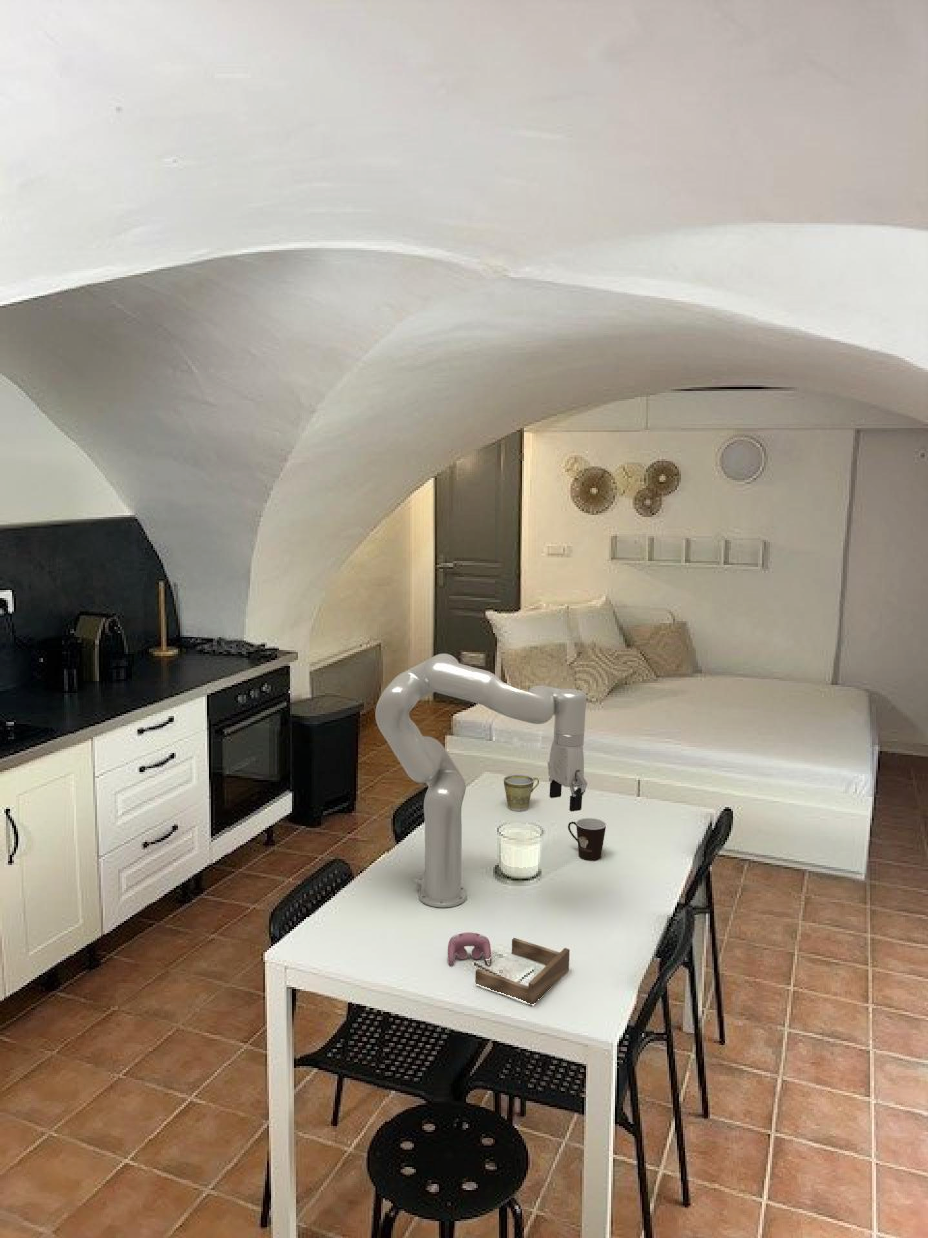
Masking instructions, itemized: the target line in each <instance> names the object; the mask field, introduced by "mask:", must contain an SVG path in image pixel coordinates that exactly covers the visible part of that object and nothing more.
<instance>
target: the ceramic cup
mask: <svg viewBox="0 0 928 1238" xmlns="http://www.w3.org/2000/svg"><path fill="white" fill-rule="evenodd" d="M536 780H537V783H536V784H535V786H534V783H535V781H536ZM539 784H540V779H539V778H537V777H532V776H531V775H526V774H520V773H519V774H510V775H509V774H508V775H506V776H505V777H504V778H503V786H504V791H505V796H506V797H505V798H506V803H507V809H508V810H509V811H511V812H517V813H518V812H519V813H520V812H526V811H528V808H529V805H530V801H531V795H532V793H533V792H534V790H536V788H537V787H538V786H539Z"/></svg>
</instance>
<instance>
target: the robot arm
mask: <svg viewBox="0 0 928 1238" xmlns="http://www.w3.org/2000/svg"><path fill="white" fill-rule="evenodd" d="M433 693H437V694H440V695H441V694H442V695H444V696H449V697H453V698H456V699H460V700H464V701H467V702H471V703H475V704H478V705H481V706H483V707H485V708H487V709H489V710H491V711H493V712H495V713H498V714H499V715H502V716H503V717H508V718H511V719H513V720H518V721H520V722H525V723H529V724H533V725H541V724H542V725H543V724H545V723H548V722H549V721H551V719H553V716H554V723H553V724H554V726H553V727H554V728H553V740H552V743H551V748H550V752H549V761H547V768H548V772H547V773H548V776H549V779H548V780H549V795H548V796H549V798H550V799H554V798H560V797H562V787H564V788H569V790H570V793H571V795H570V796H569V809H568V810H569V811H570V812H577V811H581V810H582V807H583V796H584V794H585V793H586V789H587V787H588V782H587V781H586V778H585V777H584V776H585V760H584V759H585V757H584V744H585V743H584V742H585V740H584V739H585V729H586V728H585V726H586V725H585V724H586V723H585V722H586V709H587V696H586V694H585V692H584V691H582V690H579V689H574V688H563V689H562V688H556V687H552V686H547V685H541V684H540V685H539V684H538V685H535V686H533V687H531V688H530V689H528V691H527V690H522V689H519V688H517V687H514V686H511V685H509V684H507V683H505V682H504V681H503V680H502V679H500V678H499V677H497V675H496V674H494V673H492V671H488V670H486V669H485V670H484V669H480V668H478V667H473V666H470V665H466V664H463V663H460V662H459V660H458V659H457V658H456V657H455V656H453V655H451V654H449V653H439V654H435V655H434V656H432V657H431V658H429V659H427V660H425V661H423V662H421V663H418V664H417V665H415V666H412V667H411V668H409V669H407V670H404V672H400V674H398V675H397V676H395V678H393V680H391V682H390V683H389V684H388V685H387V686H386V687H385V689H384V690H383V692H382V694H381V695H380V697H379V698H378V701H377V703H376V707H375V716H374V717H375V723H376V725H377V727H378V730H379V731H380V733H381V734H382V736H383V738H384V739H385V741H386V742H387V744H388V745H389V747H390V749H391V750H392V752H393V754H394V755H395V757H396V759H397V760H398V762H399V763H400V765H401V766H402V768H403V769H404V771H405V773H406V775H407V776H408V777H409V778H410V779H411V780H412V781H414V782H416V783H417V784H419V783H420V784H425V783H426V785H427V787H428V788H427V790H426V792H425V795H424V801H423V816H424V874H423V873H421V872H416V873H415V875H414V878H413V884H415V885H418V886H419V885H420V889H419V890H418V899H419V900H420V902H421V903H423V904H424V905H427V906H430V907H434V908H452V907H456V906H459V905H461V904H463V903H464V902H465V901H466V900H467V896H468V894H467V890H466V889H465V888H464V886H462V848H463V847H462V843H463V842H462V839H463V838H462V837H463V835H462V834H463V832H462V829H463V828H462V827H463V825H462V808H463V807H462V806H463V801H464V797H465V795H466V788H467V786H466V781H465V779H464V777H463V775H462V773H461V771H460V770H459V768H458V767H457V765H456V764H455V762H454V761H453V759H452V758H451V756H450V754H449V752H448V751H447V749H446V748H445V747H444V745H443V744H442V743H441V742H440V741H439V740H438V739H437V738H434V737H431V736H424V735H422V733H421V731H420V729H419V727H418V725H417V724H416V723H415V722H414V721H413V720H412V719H411V717H410V712H411V711H412V709H414V708H415V706H416V705H417V703H418V702H419V701H420V700H421V699H423V698H426V697H427V696H430V695H431V694H433ZM575 788H577V789H575Z"/></svg>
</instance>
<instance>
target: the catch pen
mask: <svg viewBox="0 0 928 1238" xmlns="http://www.w3.org/2000/svg"><path fill="white" fill-rule="evenodd" d="M511 954H512V955H515V956H518V957H521V958H524V959H526V960H530V961H533V962H536V963H539V964H541V965H545V966H544V968H542V969H541V970H540V971H539V972H538V973H537V974H536V975H535V976H534V977H533V978H532V979H531V980H530V981H528V985H525V984H522V983H520V982H517V981H515V980H511V979H508V978H506V977H502V976H501V975H497V974H494V973H491V972H489V971H487V970H483V969H480V968H477V969H476V970H475V975H474V976H475V983H476V984H479V985H481V986H484V987H487V988H490V989H491V990H494V991H497V992H501V993H504V994H506V995H510V996H512V997H516V998H518V999H521V1000H523V1001H526V1002H527V1003H530V1004H534V1003H536V1002H537V1001H538V999H540V998H541V997H542V996H543V995H544V994H545V993H546V992H547V991H548V990H549V989H550V988H551V987H552V986H553V985H554V984H555V985H556V984H557V983H558V982H559V981H560V980H561V979H562V978H561V977H564V975H566V974H567V973H568V971H569V970H570V949H569V948H567V947H564V948H563V949H562V950H561V951H560V952H559V951H557V950H554V949H550V948H548V947H544V946H541V945H538V944H535V943H533V942H529V941H526V940H523V939H519V938H517V937H513V938H512V939H511ZM555 985H554V986H555ZM554 986H553V987H554ZM553 987H552V988H553ZM552 988H551V989H552ZM551 989H550V990H551ZM550 990H549V991H550ZM549 991H548V992H549ZM548 992H547V993H548ZM547 993H546V994H547ZM546 994H545V995H546ZM545 995H544V996H545ZM544 996H543V997H544ZM543 997H542V998H543ZM542 998H541V999H542ZM541 999H540V1000H541ZM538 1002H539V1001H538ZM538 1002H537V1003H538ZM537 1003H536V1004H537Z"/></svg>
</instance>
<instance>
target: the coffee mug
mask: <svg viewBox="0 0 928 1238" xmlns="http://www.w3.org/2000/svg"><path fill="white" fill-rule="evenodd" d="M571 825H574V826H576V827H575V828H576V835H575V834H574V833H573V831H572V830H571ZM606 828H607V823H606V822H605V821H604V820H602V819H599V818H593V817H585V818H583V817H582V818H580V819H577V820H576V821H570V822H569V823H568V824H567V829H568V832H569V834H570V835H571V836H572V838H573V839H574V840H575V842H577V848H578V849H577V851H578V857H579V858H580V859H581V860H583V859H584V861H587V862H597V861H599V860H600V859H602V852H603V848H604V847H603V846H604V840H605V834H606ZM576 836H577V837H576Z"/></svg>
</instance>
